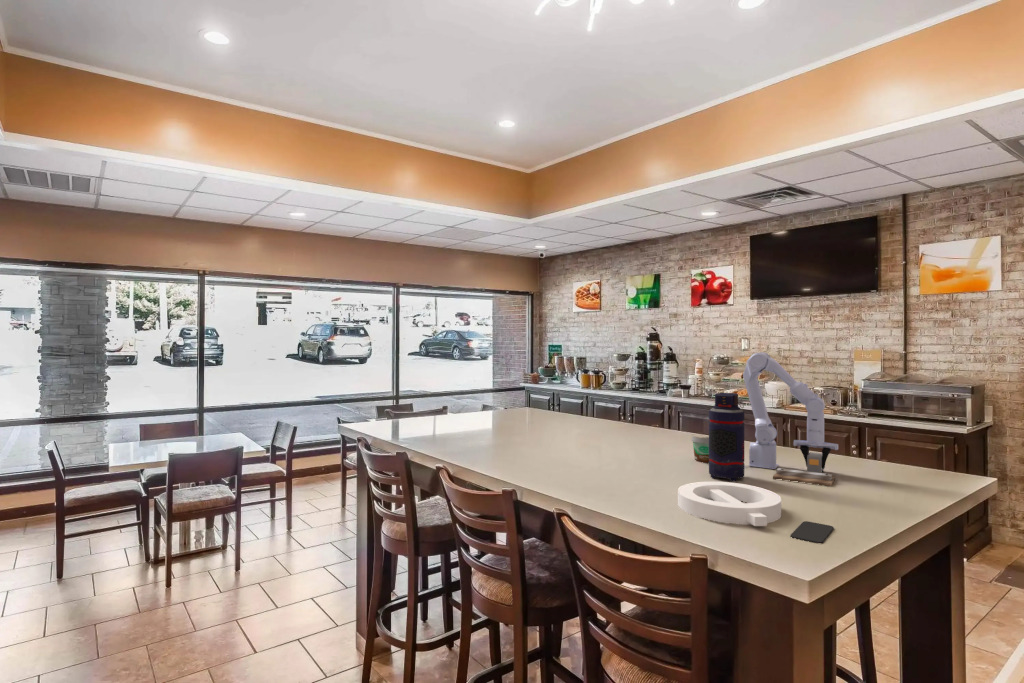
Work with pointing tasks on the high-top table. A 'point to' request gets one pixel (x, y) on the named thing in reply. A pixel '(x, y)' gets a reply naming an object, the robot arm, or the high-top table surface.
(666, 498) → the high-top table surface
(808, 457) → the block
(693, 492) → the ring with crossbar
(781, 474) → the rail board
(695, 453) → the food container
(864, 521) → the high-top table surface
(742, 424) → the navy bottle
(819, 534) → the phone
